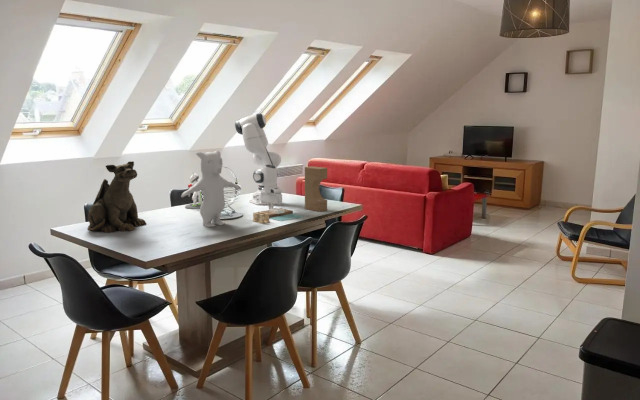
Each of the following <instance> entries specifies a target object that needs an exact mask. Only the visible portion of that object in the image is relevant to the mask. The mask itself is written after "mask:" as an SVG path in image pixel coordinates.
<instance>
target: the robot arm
mask: <svg viewBox="0 0 640 400" xmlns="http://www.w3.org/2000/svg"><path fill="white" fill-rule="evenodd" d="M266 125H267V120H266V117H265V115H264V114H262V113H256V114H251V115H248V116H246V117H245V116H244V117H243V118H241V119H237V120H236V121H235V123H234V128H235V130H236V132H237V134H239V135H242V140H243V143H244V146H245V149H246V150H247V151H248V152H249V153H251V154H253V155H252V161H253V163H254V164H256V165H258V166H260V167H262V168H259V169H255V170H254V172H253V174H252V179H253V181H254V182H255V183H256V184H259V185H257V187H258V188H257V190H256V191H255V192H254V193H253V194H252V199H251V200H249V202H250V203H252V204H255V205H259V206H261V205H262V206H264V205H265V206H267V208H268V210H269V209H273V208H275V207H274V206H275V205H282V204H283V194H282V193H283V189H282V188H280V187H279V186H278V182H277V181H278V170H277V168H278V166H279V165H280V164H281V162H282V158H281V156H280V154H279V153H277V152H274V151H268V148H267V146H268V145H269V141H268V138H267V136H266V133H265V130H264V128H265V127H266Z"/></svg>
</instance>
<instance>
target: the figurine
mask: <svg viewBox="0 0 640 400" xmlns="http://www.w3.org/2000/svg"><path fill="white" fill-rule="evenodd" d="M199 179H200V178H199V174H198V173H194V172H192V175H191V176H190V177H189V180H190V183H188V184H187V190H188V189H189V188H190V187H192V186H194V184H195V183H196V182H197V181H198V180H199ZM192 194H193V195H192V197H191V200H192V201H193V203H188V204H186V205H185V206H184V208H185V209H187V210H200V207H201V204H202V202H203V195H202V192H201V191H196V192H193V193H192Z"/></svg>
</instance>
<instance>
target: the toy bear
mask: <svg viewBox="0 0 640 400" xmlns="http://www.w3.org/2000/svg"><path fill="white" fill-rule="evenodd" d="M195 155H196V156H197V157H199V158H200V172H201V176H200V178H198V180H197V182H196V183H195V184H194V183H193V184H194V186H192V187H190V188H189V189H188V188H187V190H185V191H183V192H182V193H181V195H180V197H181V198H184V197H186V196H188V198H190V197H191V196H192V195H191V194H194V192H196V191H200V190H201V195H202V201H203V202H202V204H201V207H200V209H199V214H200V217H201V218H202V220H203V221H202V226H204V227H205V228H215V227H216V226H224V225H226V222H225V221H222V220H221V215H222V212H223V211H224V210H225V207H226V201H225V191H224V190H225V188H234V189H235V190H237V191H239V190H242V187H241V186H240V185H238V184H236V183H233V182H232V181H229V180H227V179H226V178H224V177H223V176H221V174H222V169H223V158H222V157H221V156H222V155H221V151H220V150H215V151H213V152H212V151H207V152H202V151H196V152H195Z"/></svg>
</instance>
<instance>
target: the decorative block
mask: <svg viewBox="0 0 640 400" xmlns="http://www.w3.org/2000/svg"><path fill="white" fill-rule="evenodd" d="M325 179H328V167H322V166H320V167H319V166H313V165H312V166H305V167H304V209H305V210H309V211H313V212H314V211H315V212H320V213H321V212H325V211H327V210H328V200H327V199H325V198H324V197H323V196H322V195H321V190H320V187H321V185H320V184H321V183H322V181H323V180H325Z"/></svg>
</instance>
